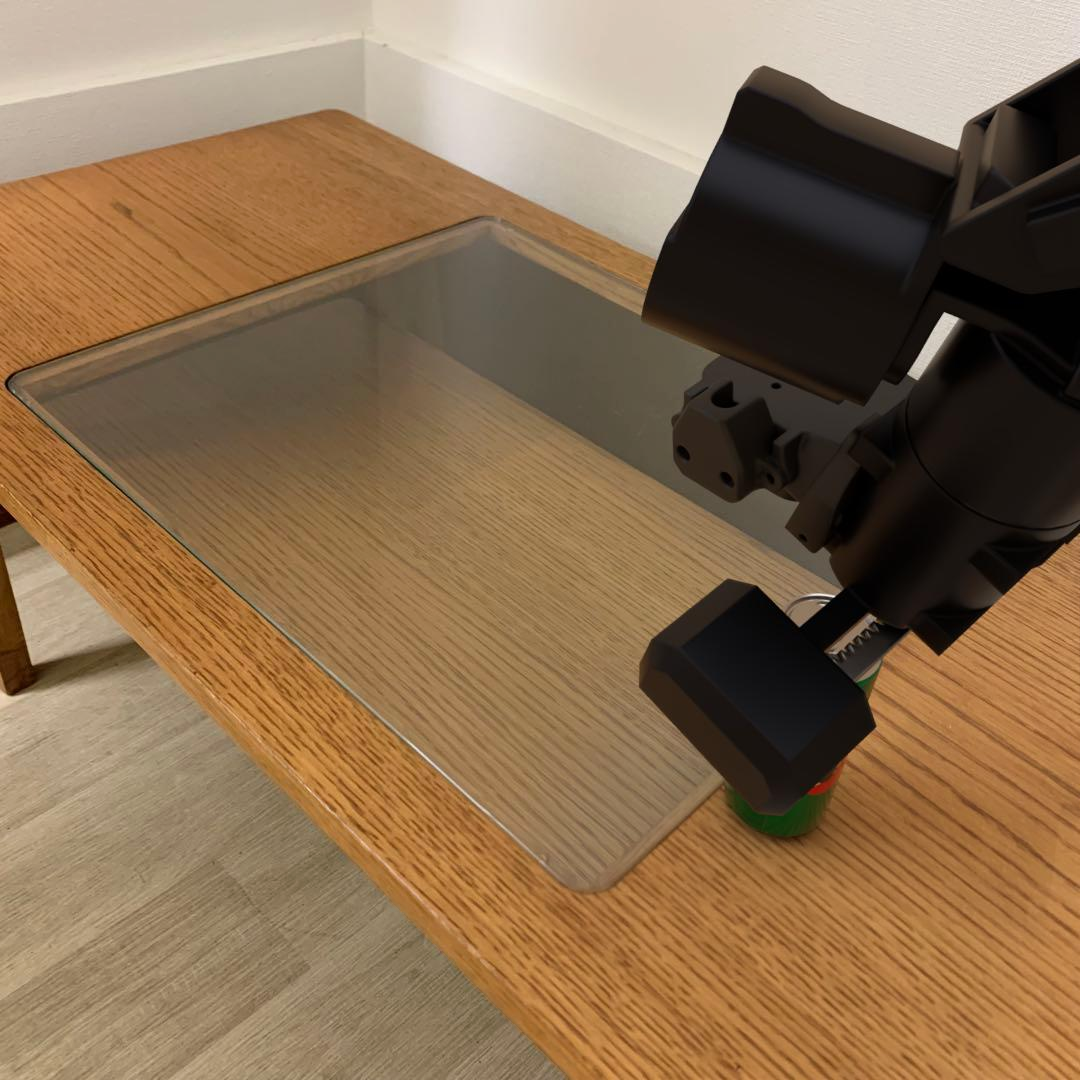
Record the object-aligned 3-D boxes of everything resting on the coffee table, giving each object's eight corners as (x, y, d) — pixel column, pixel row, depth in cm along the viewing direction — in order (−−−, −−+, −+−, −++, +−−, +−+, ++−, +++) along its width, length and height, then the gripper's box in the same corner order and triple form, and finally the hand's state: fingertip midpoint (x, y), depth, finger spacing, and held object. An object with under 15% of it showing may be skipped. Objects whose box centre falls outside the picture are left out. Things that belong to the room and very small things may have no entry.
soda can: (835, 783, 57) (900, 610, 49) (810, 860, 53) (876, 685, 46) (739, 746, 58) (787, 572, 51) (708, 818, 55) (756, 642, 47)
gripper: (980, 131, 37) (820, 413, 50) (554, 409, 29) (500, 653, 43) (1272, 352, 33) (1016, 590, 47) (876, 730, 26) (707, 885, 39)
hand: (816, 666), depth 44 cm, fingers open, 9 cm apart
